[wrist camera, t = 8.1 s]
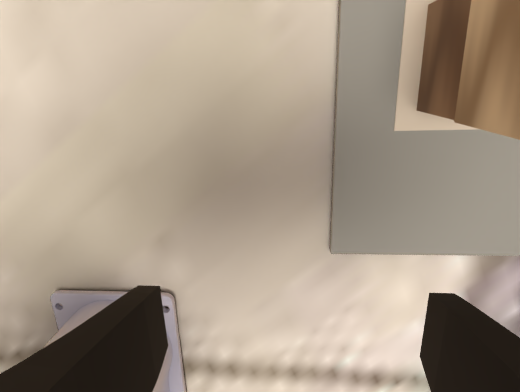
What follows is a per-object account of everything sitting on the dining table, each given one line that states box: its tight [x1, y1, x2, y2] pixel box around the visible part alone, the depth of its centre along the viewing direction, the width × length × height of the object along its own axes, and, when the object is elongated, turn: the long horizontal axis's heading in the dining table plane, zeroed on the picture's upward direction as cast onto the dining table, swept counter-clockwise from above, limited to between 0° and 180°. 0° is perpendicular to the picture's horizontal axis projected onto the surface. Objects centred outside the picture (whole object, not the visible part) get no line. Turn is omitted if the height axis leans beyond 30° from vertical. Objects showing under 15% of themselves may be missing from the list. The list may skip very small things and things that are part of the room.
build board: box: [330, 0, 520, 256], centre depth 17 cm, size 14×11×1 cm
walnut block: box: [417, 0, 471, 120], centre depth 14 cm, size 4×4×4 cm
